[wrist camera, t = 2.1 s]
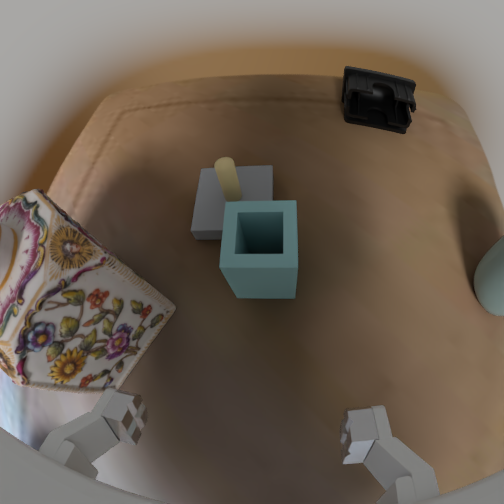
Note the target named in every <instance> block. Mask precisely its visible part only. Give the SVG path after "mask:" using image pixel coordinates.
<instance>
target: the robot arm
mask: <svg viewBox="0 0 504 504" xmlns="http://www.w3.org/2000/svg"><path fill="white" fill-rule="evenodd" d="M141 402H142V398H141V396H140V395H138V394H133V393H129V392H125V391H121V390H117V389H113V388H107V389H106V390H105V391H104V393H103V394H102V396H101V397H100V399H99V401H98V402H97V404H96V405H95V407H94V409H93V410H92V412H91V413H90V412H88V413H86V414H84V415H82V416H80V417H78V418H76V419H74V420H72V421H70V422H69V423H67V424H65V425H63V426H61V427H59V428H57V429H55V430H53V431H51V432H50V433H49V435H48V436H47V438H46V439H45V441H44V442H43V444H42V445H41V447H40V449H39V450H38V451H37V450H35V449H34V448H32V447H30V446H29V445H27V444H25V443H24V442H22V441H21V440H19V439H17V438H16V437H14V436H13V435H11V434H10V433H8V432H7V431H6V430H4V429H3V428H1V427H0V504H169V503H165V502H161V501H157V500H153V499H150V498H146V497H143V496H140V495H137V494H133V493H130V492H127V491H124V490H122V489H119V488H116V487H113V486H111V485H108V484H105V483H103V482H100V481H98V480H95V479H96V476H97V474H98V471H97V469H96V468H95V467H94V466H93V465H92V464H91V463H92V462H93V461H95V460H96V459H97V458H99V457H100V456H101V455H103V454H104V453H106V452H107V451H108V450H110V449H111V448H112V447H114V446H115V445H116V444H117V443H119V441H121V442H125V443H129V444H133V445H137V443H138V440H139V438H140V436H141V431H140V429H141V428H143V427H144V426H145V425H146V422H147V418H148V412H147V409H146V407H145V406H144V405H143V404H142V403H141ZM340 442H341V443H342V444H343V447H342V450H341V455H342V464H352V463H363V462H364V463H363V464H364V465H365V466H366V468H367V469H368V470H369V471H370V472H371V473H372V475H373V476H374V477H375V478H376V479H377V480H378V482H379V483H380V484H381V485H382V486H383V487H384V489H385V490H386V492H385V493H384V494H383V495H382V496H381V497H380V499H379V500H378V501H377V502H376V504H504V469H502V470H500V471H498V472H496V473H494V474H492V475H490V476H488V477H486V478H484V479H481V480H479V481H477V482H474V483H472V484H469V485H467V486H464V487H462V488H459V489H456V490H453V491H451V492H448V493H445V494H442V495H440V493H439V489H438V484H437V480H436V476H435V473H434V469H433V468H432V467H431V466H430V465H428V464H427V463H426V462H425V461H424V460H422V459H421V458H420V457H419V456H418V455H416V454H415V453H414V452H413V451H412V450H411V449H409V448H408V447H407V446H406V445H405V444H404V443H402V442H401V441H400V440H399V439H398V438H397V437H392V433H391V429H390V425H389V421H388V417H387V413H386V409H385V407H384V405H379V406H371V407H370V406H367V407H357V408H346V409H345V411H344V419H343V420H342V421H341V425H340Z"/></svg>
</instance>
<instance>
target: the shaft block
mask: <svg viewBox="0 0 504 504" xmlns="http://www.w3.org/2000/svg"><path fill="white" fill-rule="evenodd" d="M214 167H215V168H204V169H201V173H200V178H199V184H198V189H197V195H196V201H195V207H194V213H193V219H192V225H191V232H192V234H193V235H194V237H195V239H196V240H216V239H222V233H223V223H224V213H225V204H226V202H236V201H273V166H272V165H263V166H237V167H235V164H234V161H233V159H231V158H229V157H223V158H220V159H218V160H217V161H216V162H215V165H214Z"/></svg>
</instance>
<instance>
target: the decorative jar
mask: <svg viewBox="0 0 504 504" xmlns="http://www.w3.org/2000/svg"><path fill="white" fill-rule="evenodd" d="M175 310H176V306H175V305H174V303H172V302H171V301H170V300H169V299H167V298H166V297H165V296H164V295H162V294H161V293H160V292H159V291H158V290H156V289H155V288H154V287H153V286H151V285H150V284H149V283H147V282H146V281H145V280H144V279H143V278H141V277H140V276H139V275H138V274H136V273H135V272H134V271H133V270H131V269H130V268H129V267H128V266H126V265H125V264H124V263H123V262H122V261H121V260H120V259H119V258H117V257H116V256H115V255H114V254H113V253H112V252H110V251H109V250H108V249H107V248H106V247H105V246H104V245H103V244H101V243H100V242H99V241H98V240H97V239H95V238H94V237H93V236H92V235H91V234H90V233H88V232H87V231H86V230H85V229H84V228H83V227H81V226H80V224H79V223H78V222H76V221H75V220H73V219H72V218H71V217H70V216H69V215H68V214H67V213H66V212H65V211H64V210H62V209H61V208H60V207H59V206H58V205H57V204H56V203H54V202H53V201H52V200H51V199H50V198H49V197H48V196H47V195H46V194H45V193H44V191H43V190H40V189H33V190H31V191H29V192H23V193H21V194H20V195H19V196H16V197H14V198H12V199H10V200H9V201H6V202H5V203H3V204H1V205H0V368H1V369H2V370H3V371H4V372H5V373H6V374H7V375H8V376H9V377H10V378H11V379H12V381H13V382H14V383H15V384H17V385H19V386H22V387H24V386H26V387H31V388H38V389H43V390H52V391H61V392H72V393H104V391H105V390H106V389H107V388H113V389H117V390H118V389H119V388H120V387H121V385H122V384H123V383H124V381H125V380H126V378H127V377H128V375H129V374H130V372H131V371H132V370H133V368H134V367H135V366H136V364H137V363H138V361H139V360H140V358H141V357H142V356H143V354H144V353H145V352H146V350H147V349H148V347H149V346H150V345H151V343H152V342H153V341H154V339H155V338H156V336H157V335H158V334H159V332H160V331H161V329H162V328H163V327H164V325H165V324H166V322H167V321H168V320H169V319H170V317H171V316H172V314H173V313H174V311H175Z"/></svg>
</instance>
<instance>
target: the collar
mask: <svg viewBox="0 0 504 504" xmlns="http://www.w3.org/2000/svg"><path fill="white" fill-rule="evenodd" d="M219 268H220V270H221V271H222V273H223V275H224V277H225V278H226V280H227V282H228V283H229V285H230V287H231V288H232V290H233V292H234V293H235V295H236V297H237V298H260V299H295V294H296V285H297V274H298V236H297V205H296V200H281V201H236V202H226V204H225V213H224V223H223V233H222V243H221V253H220V264H219Z"/></svg>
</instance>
